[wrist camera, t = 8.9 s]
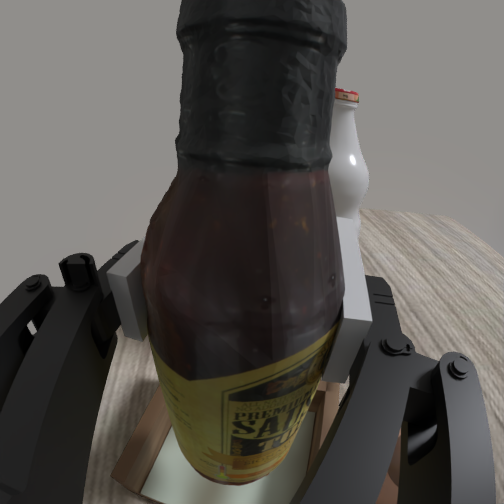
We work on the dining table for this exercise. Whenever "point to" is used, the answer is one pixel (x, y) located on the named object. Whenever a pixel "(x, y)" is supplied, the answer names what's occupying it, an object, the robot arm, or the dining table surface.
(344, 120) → the fruit juice
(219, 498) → the wooden tray
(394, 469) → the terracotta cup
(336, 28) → the sauce bottle
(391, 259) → the dining table surface
